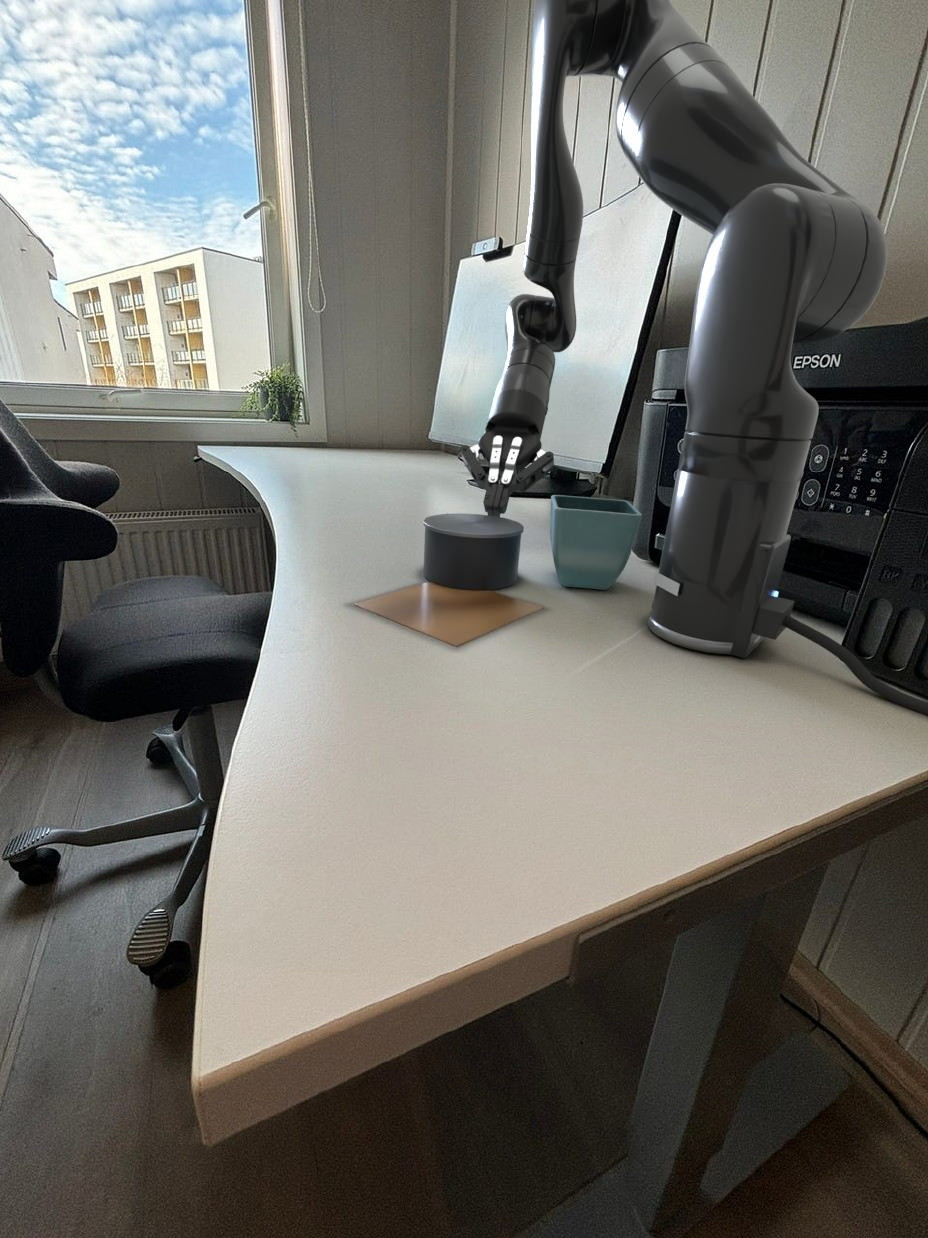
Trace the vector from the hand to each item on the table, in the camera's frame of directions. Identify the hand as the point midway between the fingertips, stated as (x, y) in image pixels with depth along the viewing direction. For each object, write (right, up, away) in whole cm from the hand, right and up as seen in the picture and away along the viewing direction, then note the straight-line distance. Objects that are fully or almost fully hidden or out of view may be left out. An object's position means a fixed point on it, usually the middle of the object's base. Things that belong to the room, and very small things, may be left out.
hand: (493, 513), depth 71 cm
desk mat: (-5, -12, -16) cm, 21 cm away
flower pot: (+10, -9, -7) cm, 15 cm away
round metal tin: (-3, -8, -7) cm, 11 cm away
